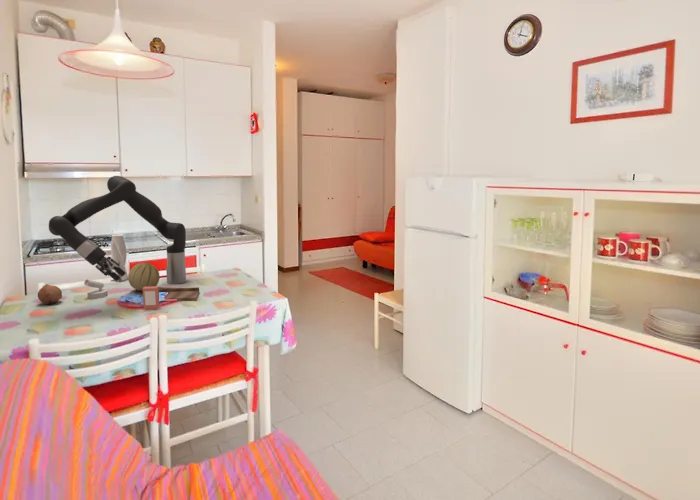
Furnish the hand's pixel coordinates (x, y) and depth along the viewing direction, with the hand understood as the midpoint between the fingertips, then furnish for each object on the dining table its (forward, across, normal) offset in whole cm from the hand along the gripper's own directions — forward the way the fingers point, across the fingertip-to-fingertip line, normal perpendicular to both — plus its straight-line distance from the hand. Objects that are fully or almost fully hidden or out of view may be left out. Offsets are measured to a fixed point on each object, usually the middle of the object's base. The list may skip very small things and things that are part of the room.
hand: (121, 277), depth 198 cm
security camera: (-2, +23, +24) cm, 34 cm away
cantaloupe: (+12, +31, +9) cm, 35 cm away
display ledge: (+25, +16, -3) cm, 30 cm away
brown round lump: (-14, +15, +36) cm, 41 cm away
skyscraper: (-1, +56, +22) cm, 60 cm away
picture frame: (+19, 0, +2) cm, 19 cm away
